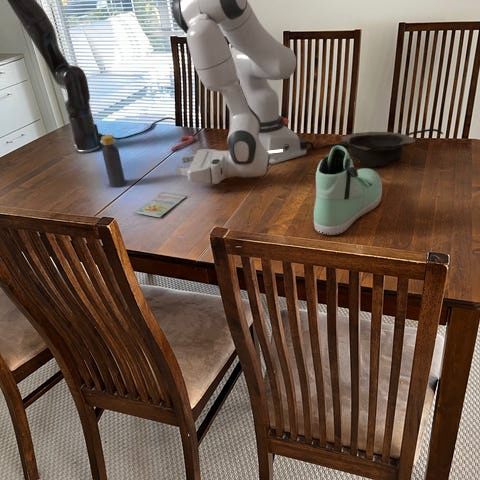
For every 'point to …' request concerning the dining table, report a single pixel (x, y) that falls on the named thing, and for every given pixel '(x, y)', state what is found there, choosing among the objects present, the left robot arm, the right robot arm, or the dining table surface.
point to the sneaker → (343, 192)
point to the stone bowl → (376, 147)
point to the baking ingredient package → (160, 205)
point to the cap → (107, 139)
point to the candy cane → (183, 142)
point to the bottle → (113, 166)
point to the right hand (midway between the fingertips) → (179, 165)
